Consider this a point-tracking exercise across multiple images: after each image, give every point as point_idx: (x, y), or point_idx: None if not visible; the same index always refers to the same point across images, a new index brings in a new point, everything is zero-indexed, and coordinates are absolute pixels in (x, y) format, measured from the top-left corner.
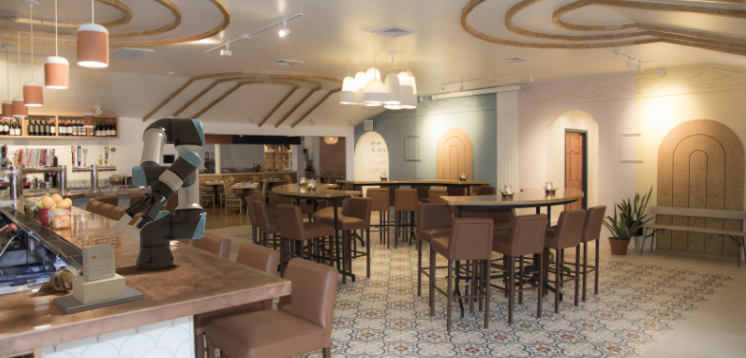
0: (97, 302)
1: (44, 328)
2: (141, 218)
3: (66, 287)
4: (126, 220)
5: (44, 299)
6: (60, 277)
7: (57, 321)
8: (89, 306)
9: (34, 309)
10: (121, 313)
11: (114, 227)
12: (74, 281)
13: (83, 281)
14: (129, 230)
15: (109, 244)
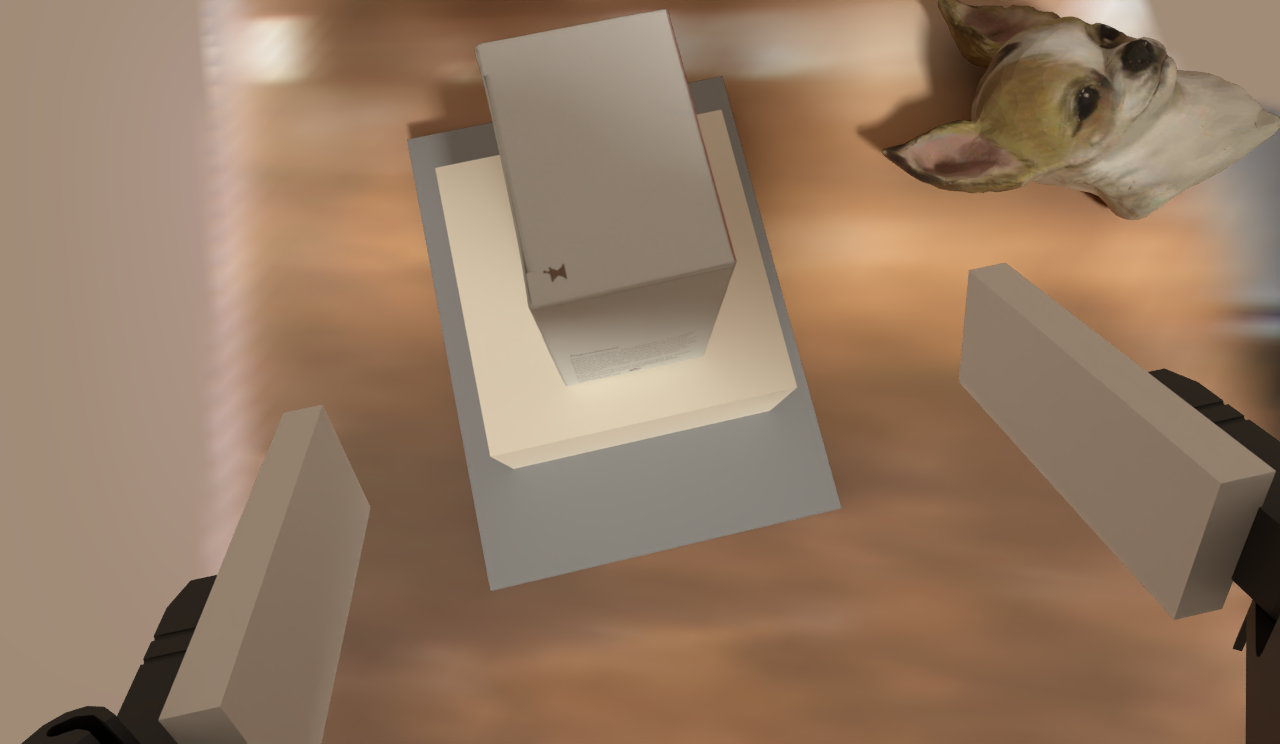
0: (457, 293)
1: (230, 55)
2: (175, 718)
3: (917, 138)
4: (1112, 489)
5: (836, 52)
6: (1004, 73)
7: (314, 107)
8: (429, 251)
9: (635, 10)
10: (237, 413)
11: (983, 296)
12: None
13: None
14: (272, 450)
15: (634, 266)
